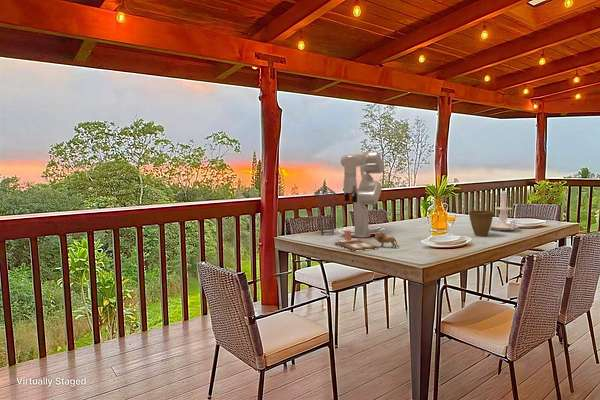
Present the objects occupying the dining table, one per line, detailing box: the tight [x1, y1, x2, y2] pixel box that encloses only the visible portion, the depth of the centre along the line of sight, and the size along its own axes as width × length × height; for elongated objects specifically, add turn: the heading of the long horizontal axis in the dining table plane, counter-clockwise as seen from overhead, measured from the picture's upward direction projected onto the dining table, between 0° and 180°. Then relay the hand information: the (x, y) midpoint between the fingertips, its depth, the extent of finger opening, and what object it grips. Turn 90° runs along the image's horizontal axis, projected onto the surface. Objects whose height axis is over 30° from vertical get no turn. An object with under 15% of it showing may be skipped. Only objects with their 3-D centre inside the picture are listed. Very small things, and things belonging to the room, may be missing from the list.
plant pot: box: [468, 210, 494, 237], centre depth 271 cm, size 15×15×16 cm
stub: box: [337, 229, 359, 243], centre depth 257 cm, size 12×5×7 cm, turn 113°
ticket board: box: [334, 239, 379, 252], centre depth 249 cm, size 16×24×2 cm, turn 23°
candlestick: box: [490, 190, 520, 232], centre depth 285 cm, size 21×25×28 cm
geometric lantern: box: [313, 185, 337, 236], centre depth 293 cm, size 16×16×35 cm
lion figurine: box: [374, 232, 400, 249], centre depth 244 cm, size 15×5×9 cm, turn 70°
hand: (350, 201), depth 260 cm, fingers open, 9 cm apart
